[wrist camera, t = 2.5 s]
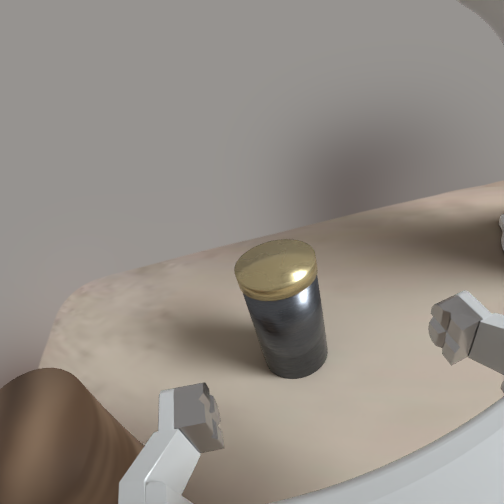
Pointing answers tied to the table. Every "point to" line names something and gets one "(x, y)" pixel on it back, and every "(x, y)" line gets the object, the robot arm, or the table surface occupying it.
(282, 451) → the table surface
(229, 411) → the table surface
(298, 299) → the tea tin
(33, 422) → the brown wooden cylinder
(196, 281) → the table surface
